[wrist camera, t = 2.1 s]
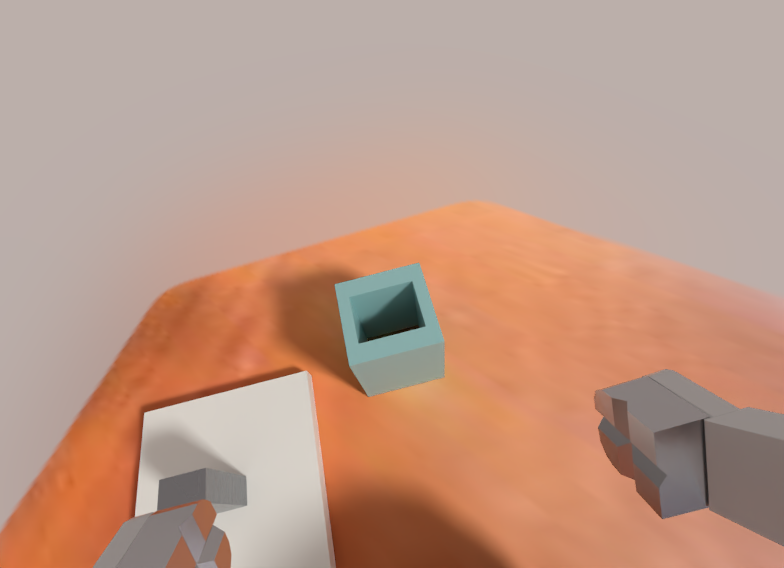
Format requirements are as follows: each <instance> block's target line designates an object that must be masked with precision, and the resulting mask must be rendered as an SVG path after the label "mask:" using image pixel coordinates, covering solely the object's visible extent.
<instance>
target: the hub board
mask: <svg viewBox="0 0 784 568" xmlns="http://www.w3.org/2000/svg"><path fill="white" fill-rule="evenodd" d="M203 468H210V469H214V470H219V471H224V472H229V473H233V474H238V475H243V476H246V481H247V506H244V507H240V508H237V509H233V510H229V511H225V512H222V513H218V514H217V516H216V519H215V522H214V526H216V527H218V528H219V529H221V530H223V531H224V532H225V533H226V536H227V538H228V540H229V544H230V549H231V568H336V563H335V555H334V547H333V540H332V532H331V524H330V516H329V508H328V501H327V493H326V485H325V477H324V469H323V461H322V454H321V446H320V438H319V430H318V422H317V414H316V407H315V399H314V391H313V383H312V376H311V375H310V374H309V373H308V372H307V371H303V372H299V373H295V374H291V375H288V376H284V377H280V378H276V379H272V380H268V381H265V382H261V383H257V384H253V385H249V386H245V387H241V388H238V389H234V390H230V391H226V392H222V393H218V394H214V395H211V396H207V397H203V398H199V399H195V400H191V401H187V402H184V403H180V404H176V405H172V406H168V407H164V408H160V409H157V410H153V411H149V412H145V413H144V422H143V433H142V444H141V455H140V466H139V477H138V488H137V499H136V510H135V517H137V516H140V515H144V514H147V513H151V512H156V511H157V503H158V488H159V480H161V479H165V478H169V477H172V476H176V475H180V474H184V473H188V472H191V471H195V470H199V469H203Z"/></svg>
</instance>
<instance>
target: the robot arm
mask: <svg viewBox="0 0 784 568" xmlns="http://www.w3.org/2000/svg"><path fill="white" fill-rule="evenodd" d="M594 400H595V409H596V410H597V411H598V412H600V413H601V414H602V415H603V416H604V417H603V419H602V421H601V423H600V425H599V427H598V430H599V435H600V441H601V444H602V446H603V448H604V451H605V453H606V455H607V457H608V458H609V460H610V461H611V463H612V465H613V466H614V467H615V468H616V469H617V470H618V471H619V473H620V474H621V475H624V476H626V477H629V478H631V479H634V480H635V484H636V491H637V492H638V493H639V495H640V496H641V497H642V498H643V499H644V500H645V501H646V502H647V503H648V504H649V505H650V506H651V508H652V509H653V510H654V511H655V512H656V513H657V514H658V515H659V516H660V517H661V518H662V519H665V518H669V517H673V516H677V515H680V514H684V513H688V512H692V511H696V510H700V509H704V508H708V507H709V510H711V511H713V512H715V513H717V514H719V515H721V516H723V517H725V518H727V519H729V520H731V521H733V522H735V523H737V524H739V525H741V526H743V527H745V528H747V529H749V530H751V531H753V532H755V533H757V534H759V535H761V536H763V537H766V538H768V539H770V540H772V541H774V542H776V543H778V544H780V545H782V546H784V414H779V413H774V412H770V411H765V410H760V409H755V408H750V407H747V408H743V409H739V408H737V407H735V406H734V405H732V404H730V403H728V402H727V401H725V400H723V399H722V398H720V397H718V396H716V395H715V394H713V393H711V392H710V391H708V390H706V389H704V388H703V387H701V386H699V385H698V384H696V383H694V382H692V381H691V380H689V379H687V378H686V377H684V376H682V375H680V374H679V373H677V372H675V371H673V370H668V369H665V370H661V371H658V372H655V373H652V374H649V375H645V376H642V377H641V378H638V379H634V380H631V381H628V382H624V383H621V384H617V385H614V386H610V387H607V388H603V389H600V390H596V391H595V396H594ZM216 516H217V513H216V511H215V509H214V508H213V506H212V504H211V502H210V501H208V500H205V499H202V500H198V501H194V502H190V503H186V504H182V505H178V506H174V507H170V508H166V509H162V510H159V511H156V512H151V513H147V514H144V515H140V516H137V517H133V518H131V519H129V520H128V521H126V522H124V523H123V525H122V526H121V528H120V529H119V531H118V532H117V533H116V535H115V536H114V538H113V539H112V541H111V542H110V543H109V545H108V546H107V548H106V549H105V551H104V552H103V554H102V555H101V556H100V558H99V559H98V561H97V562H96V564H95V565H94V566H93V568H231V549H230V544H229V540H228V538H227V536H226V533H225V532H224V531H223V530H221V529H219V528H218V527H216V526H214V522H215V519H216Z"/></svg>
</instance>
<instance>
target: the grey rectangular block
mask: <svg viewBox="0 0 784 568" xmlns="http://www.w3.org/2000/svg"><path fill="white" fill-rule="evenodd" d="M202 499H205V500H208V501H210V502H211V504H212V506H213V508H214V509H215V511H216V513H217V514H218V513H222V512H225V511H229V510H233V509H237V508H240V507H244V506H247V481H246V476H243V475H238V474H233V473H229V472H224V471H219V470H214V469H210V468H203V469H199V470H195V471H191V472H188V473H184V474H180V475H176V476H172V477H169V478H165V479H161V480H159V488H158V503H157V511H159V510H162V509H166V508H170V507H174V506H178V505H182V504H186V503H190V502H194V501H198V500H202Z"/></svg>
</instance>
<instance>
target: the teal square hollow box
mask: <svg viewBox="0 0 784 568" xmlns="http://www.w3.org/2000/svg"><path fill="white" fill-rule="evenodd" d="M335 290H336V296H337V301H338V307H339V312H340V318H341V323H342V329H343V334H344V340H345V345H346V351H347V356H348V362H349V367H350V368H351V370H352V371H353V373H354V375H355V376H356V378H357V379H358V381H359V383H360V384H361V386H362V387H363V389H364V390H365V392H366V394H367V395H368V397H370V396H374V395H378V394H382V393H386V392H389V391H393V390H397V389H401V388H405V387H408V386H412V385H416V384H420V383H424V382H428V381H431V380H435V379H439V378H443V377H444V339H443V336H442V332H441V329H440V326H439V323H438V320H437V317H436V314H435V311H434V307H433V304H432V301H431V298H430V295H429V292H428V289H427V286H426V282H425V279H424V276H423V273H422V270H421V267H420V264H419V263H416V264H412V265H408V266H404V267H400V268H396V269H392V270H389V271H385V272H381V273H377V274H373V275H369V276H365V277H361V278H357V279H353V280H349V281H346V282H342V283H338V284H335ZM414 326H419V328H418V329H414V330H410V331H406V332H402V333H399V334H395V335H391V336H387V337H383V338H379V339H375V340H372V341H368V340H367V338H371V337H375V336H379V335H383V334H387V333H391V332H394V331H398V330H402V329H406V328H410V327H414Z"/></svg>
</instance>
